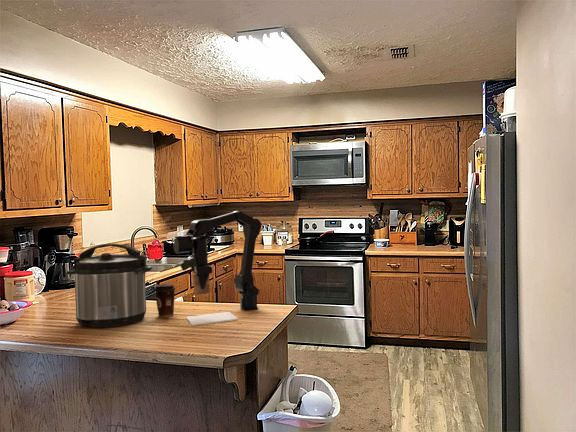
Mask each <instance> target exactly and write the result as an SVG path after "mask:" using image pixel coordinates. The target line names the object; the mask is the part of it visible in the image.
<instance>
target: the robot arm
mask: <svg viewBox="0 0 576 432" xmlns="http://www.w3.org/2000/svg"><path fill="white" fill-rule="evenodd" d="M232 222H237V224H238V225H239V226H240V227H241V226H242V233H243V236H244V242H243V243H244V244H243V250H242V259H241V267H240V271H239V273H236V274H235V276H234V277H235V279H234V281H233V284H234V286H235V289H236V290H237V291H238V294H240V298H239V305H240V309H242V310H243V311H253V310H259V307H258V296H259V293H260V289H259V288H258V287H257V286H255V281H254V280H255V279H254V275H253V265H254V264H253V263H254V258H255V248H256V241H257V239H258V236H259V234H260V232H261V230H262V222H261V220H260V219H258V218H254V217H252V216H250V215H248V214H246V213H244V212H243V211H242V210H234V211H232V212H228V213H225V214H222V215H218V216H216V217H212V218H207V219H195V220H193V221H191V222H190V225H189V229H188V230H187V232H186V234H185V235H175V237H174V242H173V250H174V253H175V254H181V253H182V254H183V253H190V252H192V254H191V257H189V258H185V259H183V260H182V261H180V262H179V266H180V268H181V270H182V271H183V272H185V271H187V270H189V268H190V270H192V273H194V274H196V275H197V276H198V277H199V281H200V286H201V289H204V288H205V285H206V282H207V279H208V277H209V278H210V274H212V273H213V267H211V266H210V264H209V262H208V259H209V258H208V256H209V252H208V244H207V243H208V241H207V240H211V239H212V236H210V235H209V234H208V232H210V231H211V230H213V229H215V228H216V227H220V226H223V225H227V224H230V223H232Z"/></svg>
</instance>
